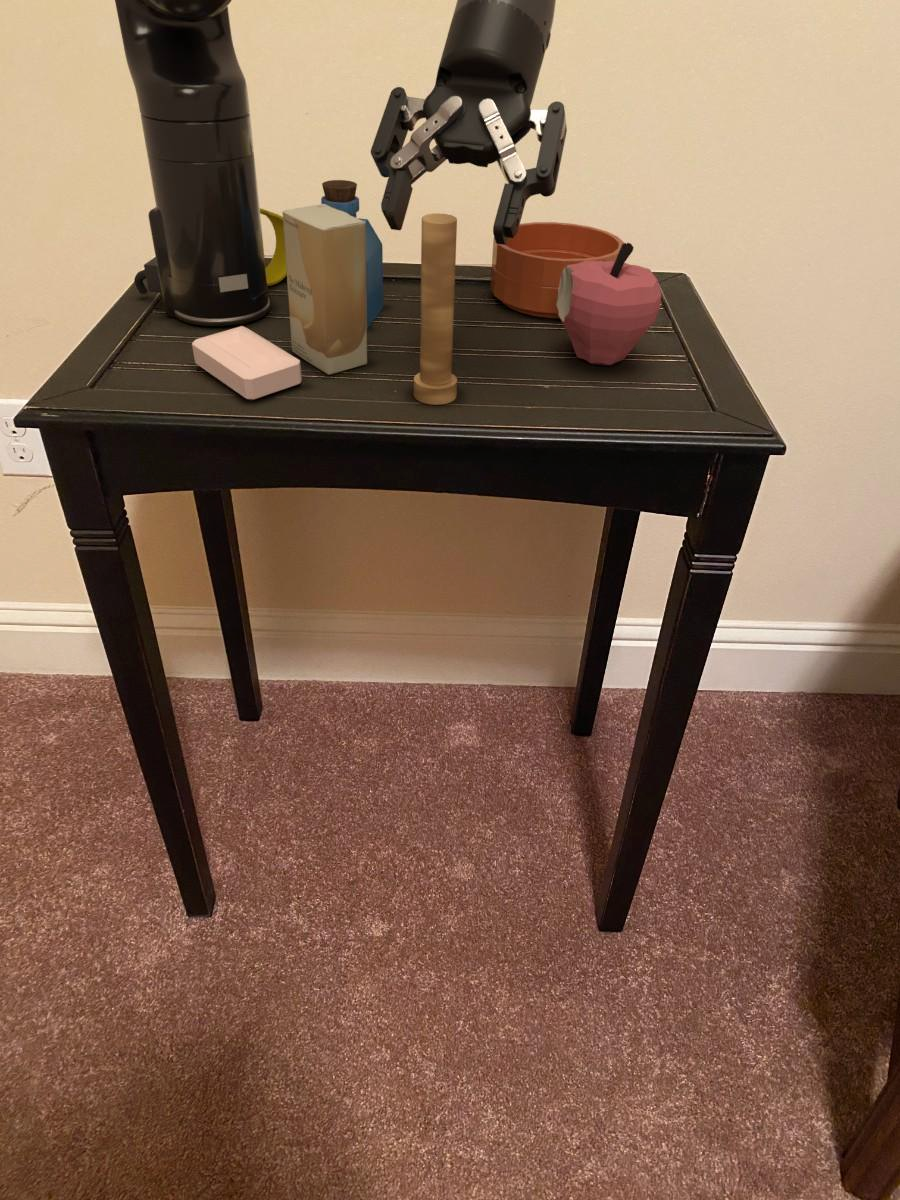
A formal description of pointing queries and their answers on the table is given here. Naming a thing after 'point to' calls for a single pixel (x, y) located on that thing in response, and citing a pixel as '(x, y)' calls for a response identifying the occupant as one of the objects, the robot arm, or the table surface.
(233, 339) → the soap bar
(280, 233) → the bracelet
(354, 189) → the blue potion bottle
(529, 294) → the bowl
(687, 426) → the table surface
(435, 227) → the stick
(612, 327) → the apple
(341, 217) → the cosmetic box
